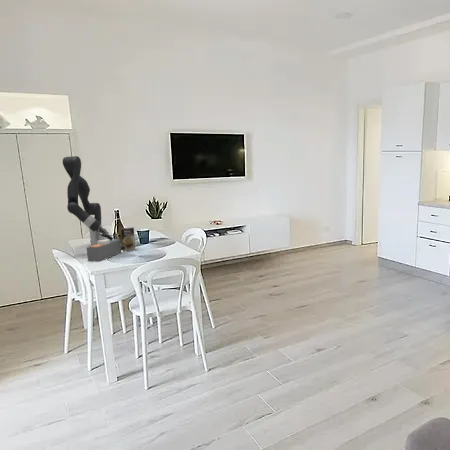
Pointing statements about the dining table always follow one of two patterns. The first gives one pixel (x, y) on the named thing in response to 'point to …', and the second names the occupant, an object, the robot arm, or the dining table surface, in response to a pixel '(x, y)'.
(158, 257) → the dining table surface
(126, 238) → the coffee box
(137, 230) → the dining table surface
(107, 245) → the block
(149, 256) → the dining table surface
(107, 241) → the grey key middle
